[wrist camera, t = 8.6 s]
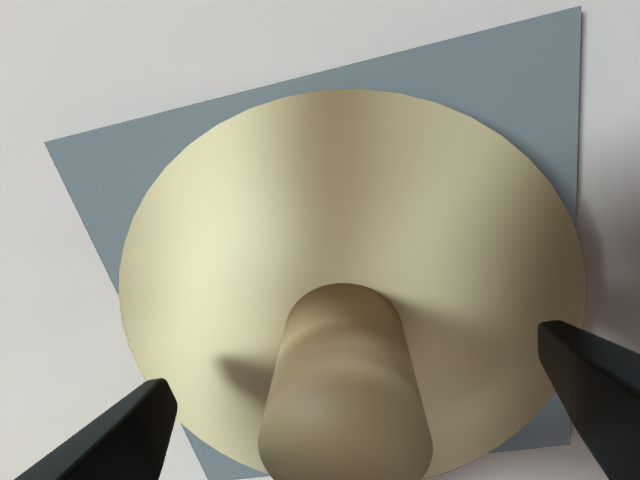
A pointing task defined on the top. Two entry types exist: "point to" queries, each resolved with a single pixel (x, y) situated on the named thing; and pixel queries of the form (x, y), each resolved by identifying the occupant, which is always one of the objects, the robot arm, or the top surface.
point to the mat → (375, 74)
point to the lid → (350, 286)
